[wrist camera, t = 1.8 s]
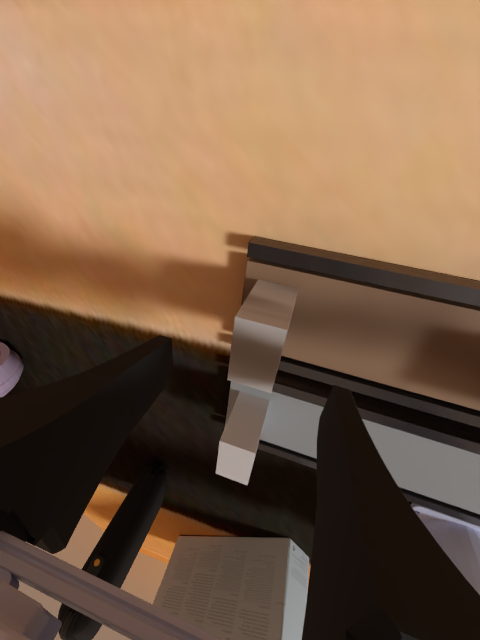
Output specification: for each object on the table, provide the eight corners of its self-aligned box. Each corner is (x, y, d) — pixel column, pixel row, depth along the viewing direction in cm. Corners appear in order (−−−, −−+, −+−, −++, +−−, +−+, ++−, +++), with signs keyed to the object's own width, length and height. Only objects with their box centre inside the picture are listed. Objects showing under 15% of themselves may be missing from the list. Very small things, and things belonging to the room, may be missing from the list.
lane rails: (518, 522, 21) (528, 543, 20) (228, 424, 25) (223, 436, 24) (799, 344, 11) (850, 365, 10) (255, 236, 16) (248, 242, 15)
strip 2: (529, 518, 20) (585, 622, 16) (228, 418, 25) (204, 476, 20) (595, 477, 17) (690, 593, 12) (235, 370, 21) (208, 427, 17)
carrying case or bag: (150, 446, 32) (38, 623, 20) (173, 456, 31) (73, 643, 19) (148, 487, 38) (60, 642, 26) (167, 496, 37) (88, 658, 25)
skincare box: (198, 552, 45) (143, 713, 32) (178, 533, 44) (111, 694, 30) (313, 560, 34) (301, 805, 21) (291, 536, 33) (264, 784, 20)
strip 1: (647, 445, 15) (781, 568, 11) (240, 335, 19) (212, 388, 15) (774, 366, 12) (1047, 495, 7) (251, 255, 16) (220, 292, 12)
